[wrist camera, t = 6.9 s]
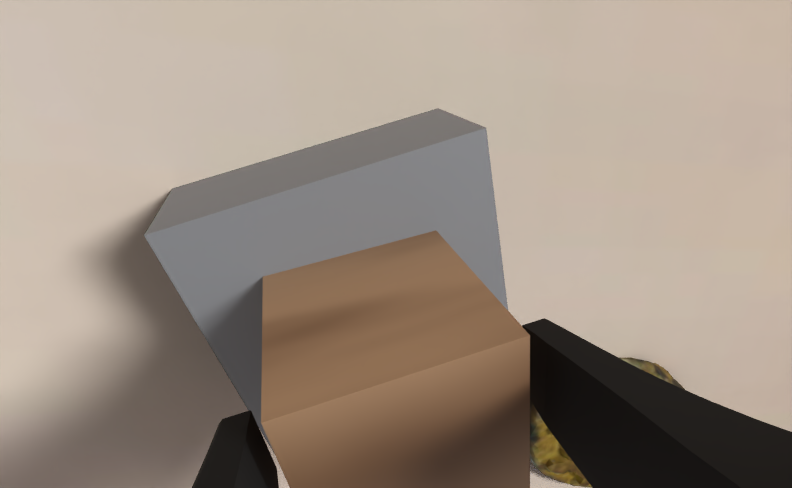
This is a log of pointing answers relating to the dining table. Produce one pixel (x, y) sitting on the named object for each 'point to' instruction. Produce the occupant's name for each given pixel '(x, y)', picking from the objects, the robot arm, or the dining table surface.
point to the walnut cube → (394, 373)
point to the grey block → (322, 223)
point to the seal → (551, 453)
